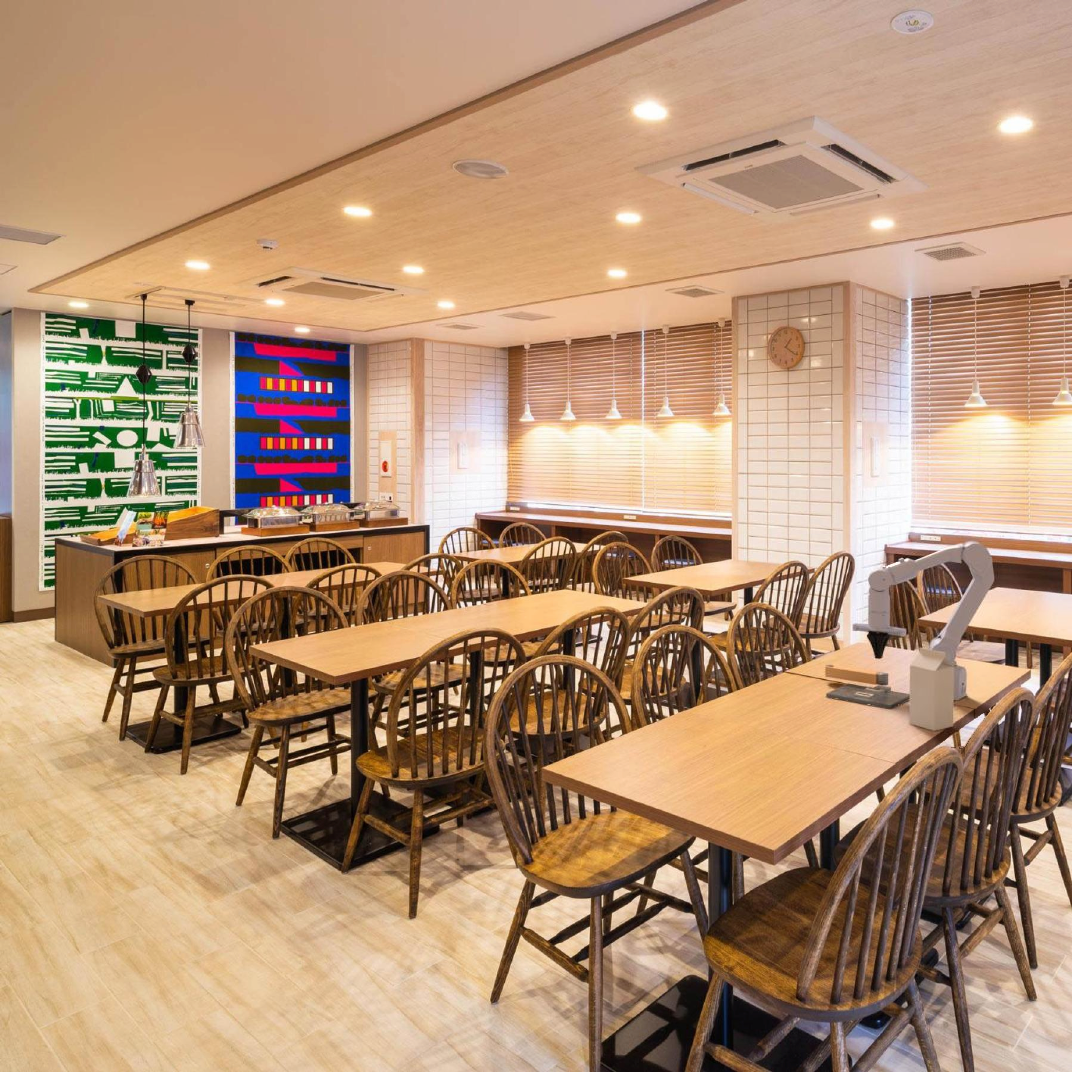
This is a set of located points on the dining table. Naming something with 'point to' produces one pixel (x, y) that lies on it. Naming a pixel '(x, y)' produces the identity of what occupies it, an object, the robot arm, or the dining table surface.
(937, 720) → the milk carton
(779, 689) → the dining table surface
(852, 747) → the dining table surface
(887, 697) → the server tray
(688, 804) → the dining table surface
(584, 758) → the dining table surface
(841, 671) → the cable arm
